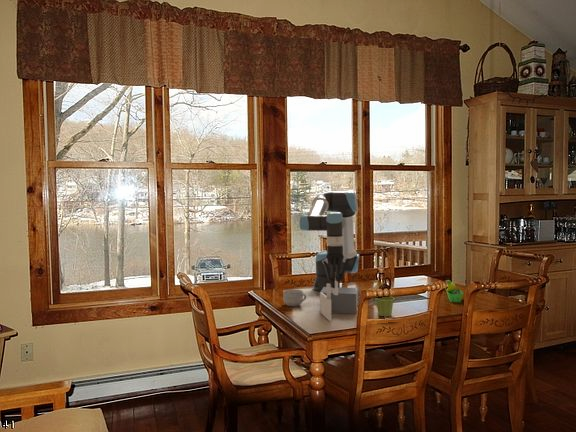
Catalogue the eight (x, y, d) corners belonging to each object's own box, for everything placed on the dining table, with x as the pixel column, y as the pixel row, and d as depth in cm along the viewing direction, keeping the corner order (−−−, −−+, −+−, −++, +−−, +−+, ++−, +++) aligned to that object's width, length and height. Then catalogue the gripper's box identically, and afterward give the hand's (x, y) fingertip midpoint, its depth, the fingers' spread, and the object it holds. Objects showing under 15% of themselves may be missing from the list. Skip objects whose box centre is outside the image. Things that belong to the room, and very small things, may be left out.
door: (322, 311, 234) (322, 278, 233) (332, 320, 217) (332, 284, 216) (318, 311, 233) (318, 278, 232) (328, 321, 217) (328, 285, 216)
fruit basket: (463, 303, 249) (463, 282, 248) (446, 302, 251) (446, 281, 250) (460, 298, 260) (460, 278, 259) (443, 297, 262) (443, 277, 261)
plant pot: (373, 313, 231) (373, 296, 230) (391, 312, 232) (391, 295, 231) (378, 318, 222) (377, 300, 221) (397, 317, 222) (397, 299, 222)
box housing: (323, 305, 248) (323, 286, 247) (357, 306, 244) (357, 287, 244) (320, 312, 234) (320, 292, 233) (356, 313, 230) (356, 293, 230)
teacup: (279, 305, 250) (278, 290, 249) (294, 301, 257) (294, 287, 256) (296, 310, 239) (295, 294, 239) (311, 306, 246) (311, 291, 246)
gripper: (324, 246, 213) (325, 297, 214) (350, 245, 217) (351, 295, 218) (319, 245, 220) (320, 294, 222) (344, 243, 224) (345, 291, 225)
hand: (335, 294), depth 220 cm, fingers closed
